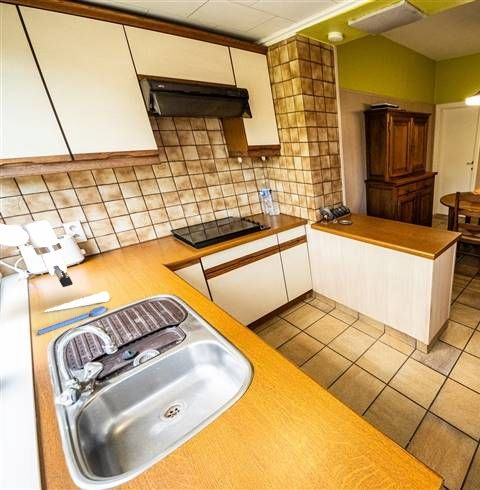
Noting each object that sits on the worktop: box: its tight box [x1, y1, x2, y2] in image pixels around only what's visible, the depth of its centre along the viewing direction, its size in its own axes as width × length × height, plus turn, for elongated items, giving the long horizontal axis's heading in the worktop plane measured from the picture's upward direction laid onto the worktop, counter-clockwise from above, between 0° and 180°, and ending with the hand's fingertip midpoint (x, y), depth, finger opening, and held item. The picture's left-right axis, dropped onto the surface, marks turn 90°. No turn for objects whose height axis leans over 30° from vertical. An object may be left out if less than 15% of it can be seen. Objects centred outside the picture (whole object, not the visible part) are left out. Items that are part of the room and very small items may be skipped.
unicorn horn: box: [42, 291, 110, 313], centre depth 119 cm, size 5×24×5 cm, turn 104°
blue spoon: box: [37, 305, 107, 335], centre depth 109 cm, size 20×5×1 cm, turn 136°
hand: (67, 285), depth 121 cm, fingers closed
